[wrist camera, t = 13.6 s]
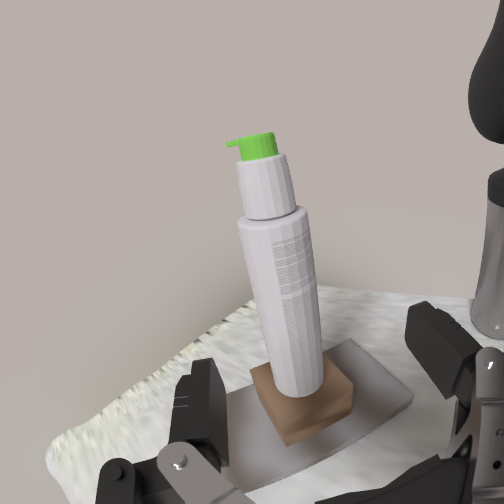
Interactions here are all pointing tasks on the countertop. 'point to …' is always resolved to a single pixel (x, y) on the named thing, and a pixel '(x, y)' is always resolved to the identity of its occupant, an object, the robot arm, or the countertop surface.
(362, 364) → the pedestal stand
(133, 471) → the robot arm
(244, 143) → the bottle
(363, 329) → the countertop surface
